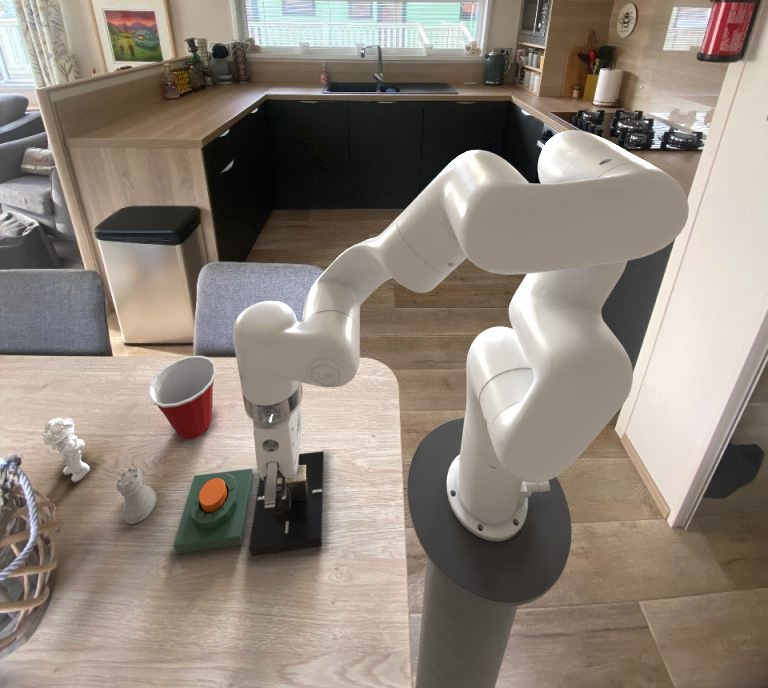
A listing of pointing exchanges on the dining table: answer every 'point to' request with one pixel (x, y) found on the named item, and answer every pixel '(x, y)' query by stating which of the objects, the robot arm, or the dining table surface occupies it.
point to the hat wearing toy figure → (66, 446)
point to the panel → (292, 515)
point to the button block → (215, 514)
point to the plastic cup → (185, 394)
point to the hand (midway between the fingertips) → (283, 470)
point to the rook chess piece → (135, 495)
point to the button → (213, 495)
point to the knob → (297, 485)
